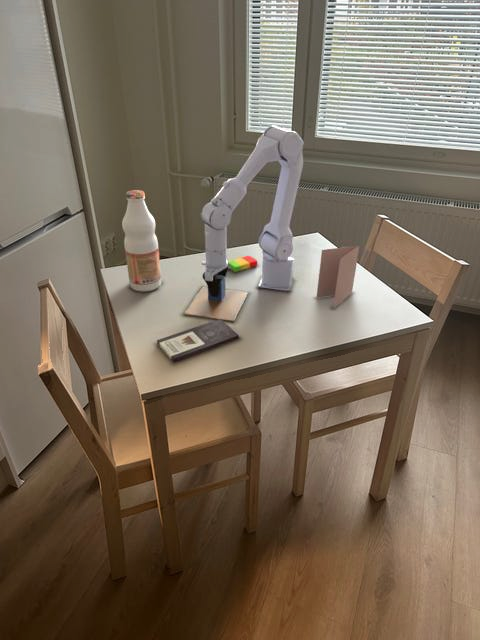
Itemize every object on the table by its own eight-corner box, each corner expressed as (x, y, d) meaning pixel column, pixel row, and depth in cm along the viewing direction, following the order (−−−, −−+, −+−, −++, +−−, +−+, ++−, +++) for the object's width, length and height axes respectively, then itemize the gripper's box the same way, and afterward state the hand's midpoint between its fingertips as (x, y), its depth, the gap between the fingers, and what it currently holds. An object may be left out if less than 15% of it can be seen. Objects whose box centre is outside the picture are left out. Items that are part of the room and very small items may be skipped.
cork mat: (248, 293, 133) (248, 292, 133) (234, 321, 120) (234, 320, 120) (202, 287, 136) (202, 286, 136) (184, 314, 123) (184, 313, 123)
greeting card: (350, 291, 135) (358, 244, 127) (363, 303, 129) (371, 255, 121) (315, 296, 132) (320, 248, 124) (326, 309, 126) (332, 259, 118)
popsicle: (258, 265, 149) (258, 260, 148) (219, 277, 142) (219, 271, 141) (249, 259, 153) (249, 254, 152) (210, 270, 145) (210, 265, 144)
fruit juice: (123, 288, 135) (109, 194, 120) (142, 275, 142) (131, 185, 127) (149, 295, 132) (139, 199, 117) (167, 281, 139) (159, 190, 124)
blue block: (225, 294, 132) (225, 276, 129) (221, 301, 128) (221, 282, 125) (212, 292, 133) (211, 274, 129) (208, 299, 129) (207, 280, 126)
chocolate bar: (238, 335, 113) (173, 359, 105) (238, 338, 113) (173, 362, 105) (219, 318, 119) (156, 340, 111) (220, 321, 120) (157, 343, 111)
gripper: (209, 236, 129) (211, 279, 136) (193, 257, 117) (195, 302, 125) (233, 239, 128) (233, 282, 135) (219, 260, 116) (219, 306, 123)
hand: (216, 292), depth 130 cm, fingers closed on blue block, 4 cm apart
